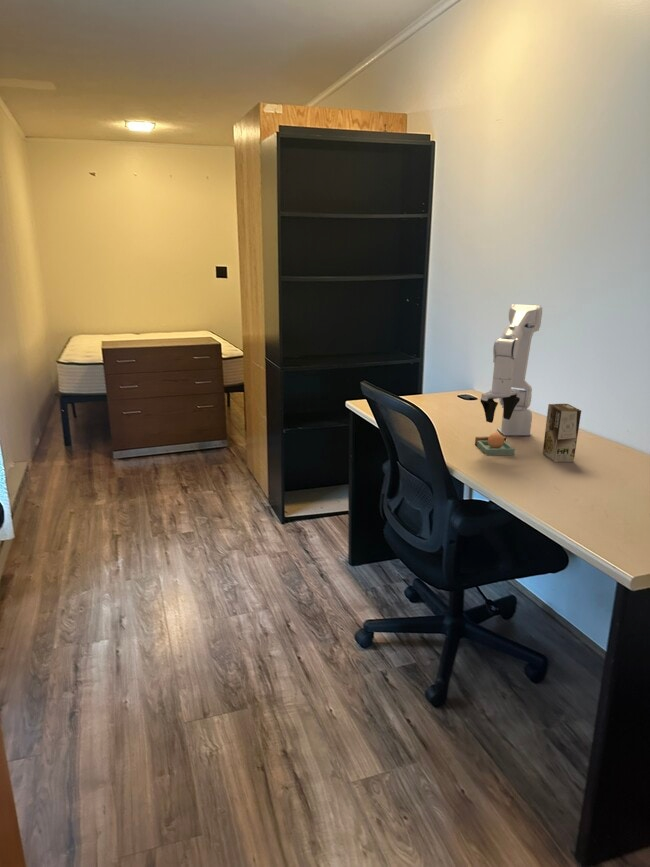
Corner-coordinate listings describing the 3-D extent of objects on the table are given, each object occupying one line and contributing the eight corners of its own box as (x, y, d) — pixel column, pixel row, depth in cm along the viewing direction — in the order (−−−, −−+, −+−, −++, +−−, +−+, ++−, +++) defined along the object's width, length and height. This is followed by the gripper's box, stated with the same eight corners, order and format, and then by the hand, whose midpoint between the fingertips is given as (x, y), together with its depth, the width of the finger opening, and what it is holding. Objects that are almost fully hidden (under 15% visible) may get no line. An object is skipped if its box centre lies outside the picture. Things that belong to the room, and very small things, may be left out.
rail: (504, 443, 196) (505, 436, 195) (505, 444, 194) (506, 437, 194) (474, 443, 195) (475, 436, 194) (476, 445, 194) (476, 437, 193)
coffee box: (574, 462, 179) (582, 410, 175) (554, 462, 179) (561, 410, 174) (561, 452, 188) (568, 403, 183) (541, 452, 188) (548, 403, 183)
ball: (494, 445, 192) (496, 430, 191) (506, 449, 188) (508, 434, 187) (483, 447, 190) (485, 432, 188) (494, 451, 186) (496, 436, 184)
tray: (503, 445, 194) (504, 440, 193) (514, 454, 185) (514, 449, 184) (476, 445, 193) (477, 440, 192) (485, 454, 184) (486, 449, 184)
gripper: (509, 373, 189) (504, 414, 193) (475, 377, 182) (471, 420, 186) (526, 377, 183) (521, 419, 187) (492, 381, 176) (488, 425, 180)
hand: (498, 420), depth 186 cm, fingers open, 7 cm apart
